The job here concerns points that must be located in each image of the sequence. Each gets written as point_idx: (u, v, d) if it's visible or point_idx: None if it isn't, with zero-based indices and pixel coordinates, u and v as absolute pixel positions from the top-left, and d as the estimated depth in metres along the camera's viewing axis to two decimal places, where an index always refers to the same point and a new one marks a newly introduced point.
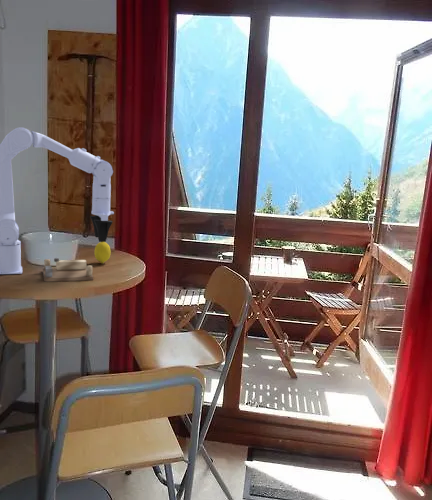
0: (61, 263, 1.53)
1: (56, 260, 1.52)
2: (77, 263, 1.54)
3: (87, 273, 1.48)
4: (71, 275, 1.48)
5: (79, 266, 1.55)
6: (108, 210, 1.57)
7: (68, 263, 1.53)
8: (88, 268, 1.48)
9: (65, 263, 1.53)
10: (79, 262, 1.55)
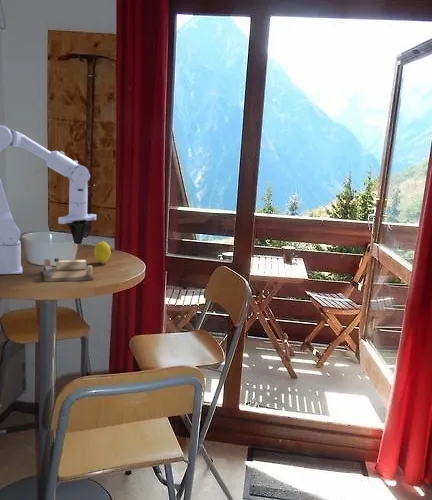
0: (61, 263, 1.53)
1: (56, 260, 1.52)
2: (77, 263, 1.54)
3: (87, 273, 1.48)
4: (71, 275, 1.48)
5: (79, 266, 1.55)
6: None
7: (68, 263, 1.53)
8: (88, 268, 1.48)
9: (65, 263, 1.53)
10: (79, 262, 1.55)
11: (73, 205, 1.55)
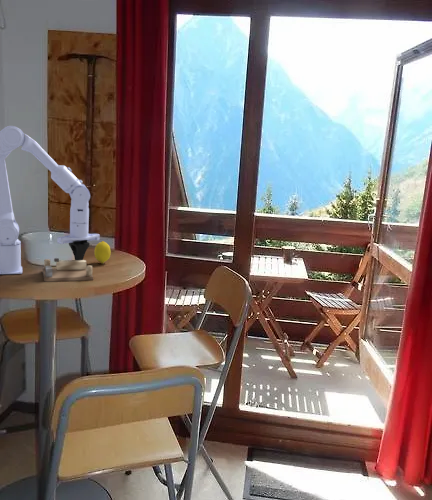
0: (61, 263, 1.52)
1: (56, 260, 1.52)
2: (77, 263, 1.54)
3: (87, 273, 1.48)
4: (71, 275, 1.48)
5: (79, 267, 1.55)
6: None
7: (68, 263, 1.53)
8: (88, 268, 1.48)
9: (65, 263, 1.53)
10: (79, 262, 1.54)
11: (73, 225, 1.53)
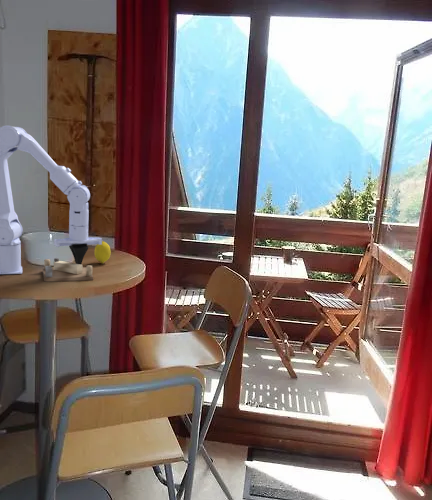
0: (57, 264, 1.51)
1: (54, 260, 1.52)
2: (70, 266, 1.50)
3: (87, 273, 1.48)
4: (71, 275, 1.48)
5: (71, 270, 1.50)
6: None
7: (62, 265, 1.51)
8: (88, 268, 1.48)
9: (60, 264, 1.51)
10: (71, 266, 1.50)
11: (70, 228, 1.48)
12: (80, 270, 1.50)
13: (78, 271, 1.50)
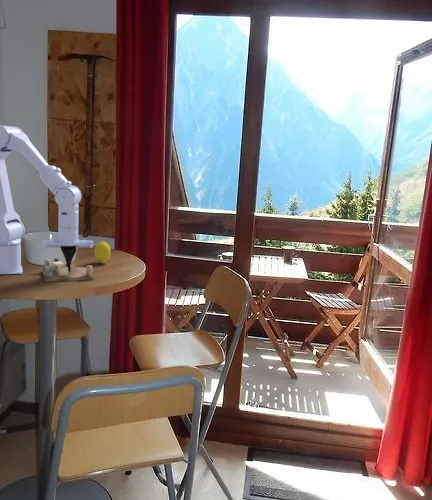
0: (53, 263, 1.51)
1: (54, 260, 1.53)
2: (57, 267, 1.47)
3: (87, 273, 1.48)
4: (71, 275, 1.48)
5: (57, 272, 1.47)
6: None
7: (55, 265, 1.50)
8: (88, 268, 1.48)
9: (54, 264, 1.50)
10: (58, 267, 1.47)
11: (59, 229, 1.44)
12: (64, 273, 1.46)
13: (61, 273, 1.46)
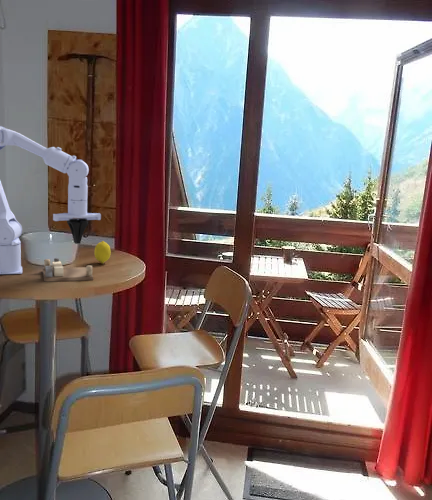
0: (52, 263, 1.51)
1: (54, 260, 1.53)
2: (53, 267, 1.47)
3: (87, 273, 1.48)
4: (71, 275, 1.48)
5: None
6: None
7: (53, 265, 1.50)
8: (88, 268, 1.48)
9: (52, 264, 1.50)
10: (54, 267, 1.46)
11: (69, 202, 1.47)
12: (60, 273, 1.45)
13: (56, 273, 1.45)
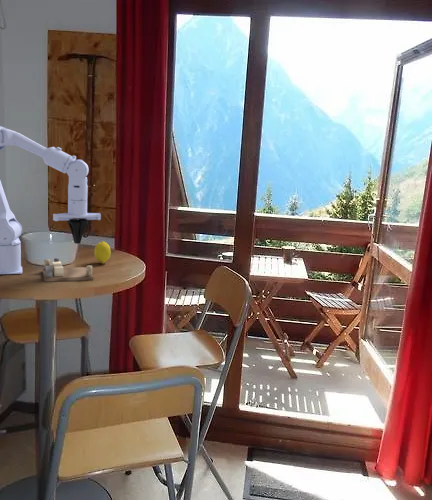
0: (52, 263, 1.51)
1: (54, 260, 1.53)
2: (53, 267, 1.47)
3: (87, 273, 1.48)
4: (71, 275, 1.48)
5: None
6: None
7: (53, 265, 1.50)
8: (88, 268, 1.48)
9: (52, 264, 1.50)
10: (54, 267, 1.46)
11: (69, 202, 1.48)
12: (60, 273, 1.45)
13: (56, 273, 1.45)
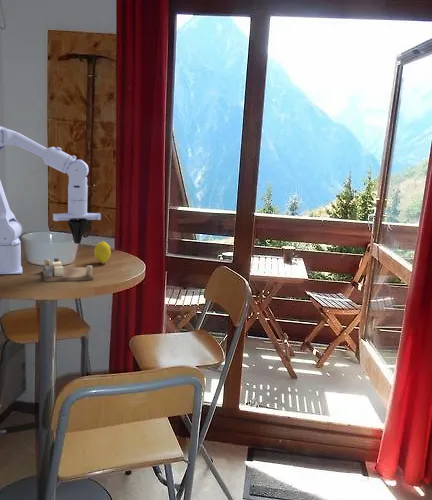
0: (52, 263, 1.51)
1: (54, 260, 1.53)
2: (53, 267, 1.47)
3: (87, 273, 1.48)
4: (71, 275, 1.48)
5: None
6: None
7: (53, 265, 1.50)
8: (88, 268, 1.48)
9: (52, 264, 1.50)
10: (54, 267, 1.46)
11: (69, 202, 1.48)
12: (60, 273, 1.45)
13: (56, 273, 1.45)
